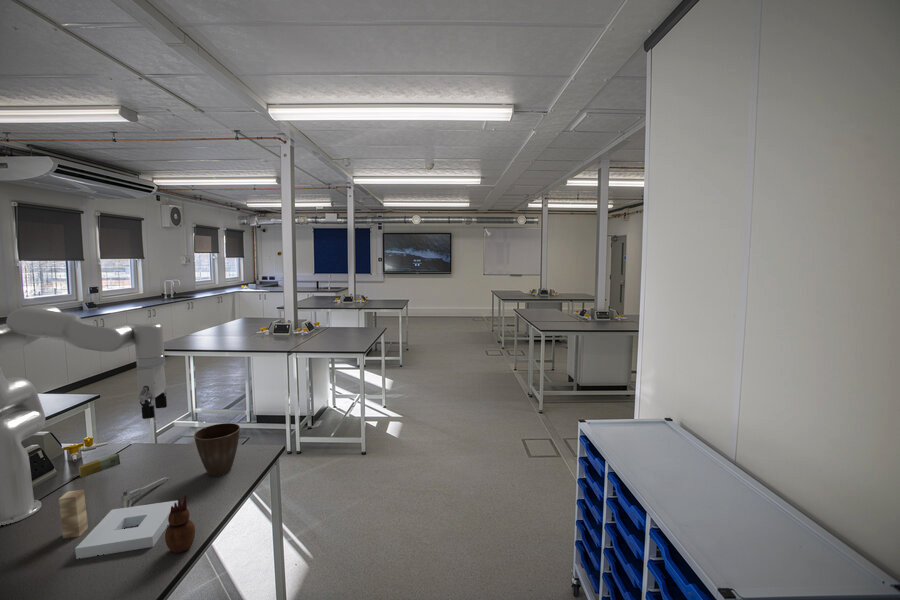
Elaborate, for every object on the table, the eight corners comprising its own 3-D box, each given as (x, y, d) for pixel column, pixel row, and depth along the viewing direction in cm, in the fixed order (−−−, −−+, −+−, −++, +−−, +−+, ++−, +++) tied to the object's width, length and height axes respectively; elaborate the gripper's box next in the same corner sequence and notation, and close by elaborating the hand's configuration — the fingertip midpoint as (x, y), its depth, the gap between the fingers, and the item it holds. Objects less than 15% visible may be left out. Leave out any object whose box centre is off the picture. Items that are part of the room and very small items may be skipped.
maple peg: (63, 538, 118) (58, 499, 117) (72, 529, 122) (67, 491, 121) (79, 536, 119) (75, 496, 118) (88, 527, 123) (84, 489, 122)
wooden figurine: (200, 541, 116) (196, 490, 115) (187, 555, 111) (183, 502, 109) (175, 542, 116) (171, 491, 115) (162, 556, 110) (157, 503, 109)
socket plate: (76, 559, 110) (75, 548, 110) (112, 518, 127) (112, 509, 127) (153, 546, 114) (152, 536, 114) (178, 509, 132) (177, 500, 132)
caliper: (124, 513, 131) (123, 494, 130) (121, 513, 131) (119, 494, 130) (169, 479, 151) (168, 462, 151) (166, 479, 151) (165, 462, 151)
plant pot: (237, 458, 166) (235, 419, 164) (246, 472, 154) (244, 431, 153) (194, 470, 157) (191, 429, 155) (200, 486, 145) (197, 443, 144)
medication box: (118, 462, 164) (116, 452, 164) (120, 464, 163) (119, 454, 163) (79, 476, 154) (77, 465, 154) (81, 477, 153) (80, 467, 153)
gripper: (149, 356, 141) (153, 405, 143) (124, 369, 125) (129, 424, 126) (174, 355, 143) (178, 403, 145) (152, 367, 127) (157, 421, 128)
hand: (155, 412), depth 136 cm, fingers open, 9 cm apart
